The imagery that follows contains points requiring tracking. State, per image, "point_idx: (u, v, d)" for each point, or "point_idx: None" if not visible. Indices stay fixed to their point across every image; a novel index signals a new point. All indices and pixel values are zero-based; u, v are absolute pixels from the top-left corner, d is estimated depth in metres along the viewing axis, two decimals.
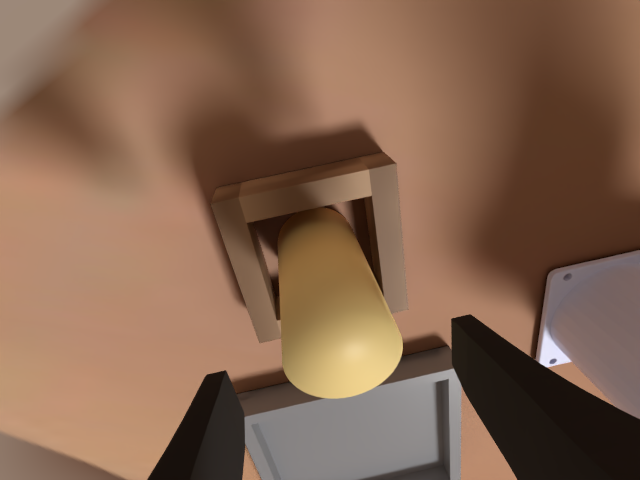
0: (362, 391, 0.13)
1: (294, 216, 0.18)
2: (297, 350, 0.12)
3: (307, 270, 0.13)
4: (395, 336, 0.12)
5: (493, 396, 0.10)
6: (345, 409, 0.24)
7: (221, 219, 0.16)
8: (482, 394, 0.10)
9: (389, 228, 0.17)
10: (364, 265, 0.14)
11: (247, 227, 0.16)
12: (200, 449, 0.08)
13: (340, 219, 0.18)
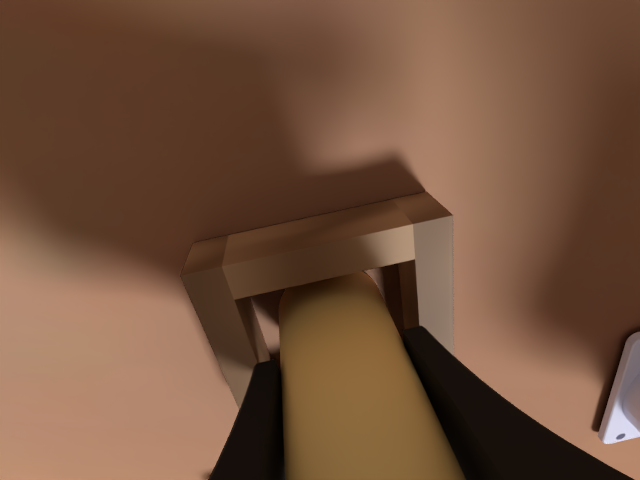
0: None
1: None
2: None
3: (327, 397, 0.08)
4: None
5: (436, 409, 0.10)
6: None
7: (197, 296, 0.11)
8: None
9: (436, 300, 0.12)
10: (412, 377, 0.09)
11: (235, 305, 0.11)
12: (266, 434, 0.08)
13: (366, 284, 0.13)
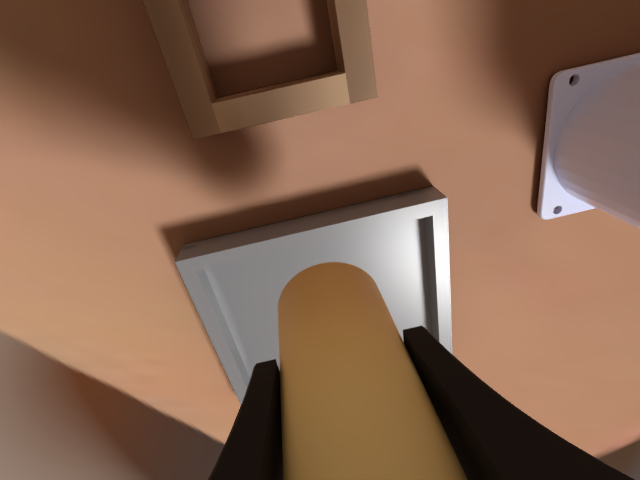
0: None
1: (301, 275, 0.13)
2: None
3: (326, 392, 0.08)
4: None
5: (436, 409, 0.10)
6: None
7: None
8: None
9: None
10: (411, 373, 0.09)
11: None
12: (265, 434, 0.08)
13: (365, 281, 0.13)
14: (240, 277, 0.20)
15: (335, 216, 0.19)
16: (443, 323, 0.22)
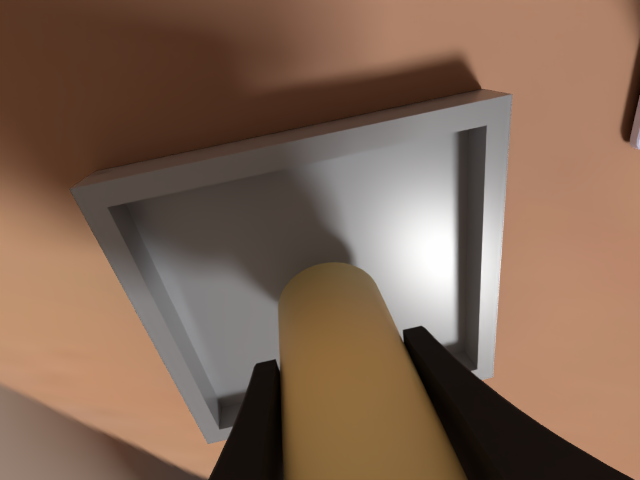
0: None
1: (301, 276, 0.13)
2: None
3: (326, 392, 0.08)
4: None
5: (436, 409, 0.09)
6: (298, 216, 0.14)
7: None
8: None
9: None
10: (411, 372, 0.09)
11: None
12: (266, 434, 0.08)
13: (365, 281, 0.13)
14: (186, 226, 0.13)
15: (332, 126, 0.12)
16: (486, 303, 0.15)
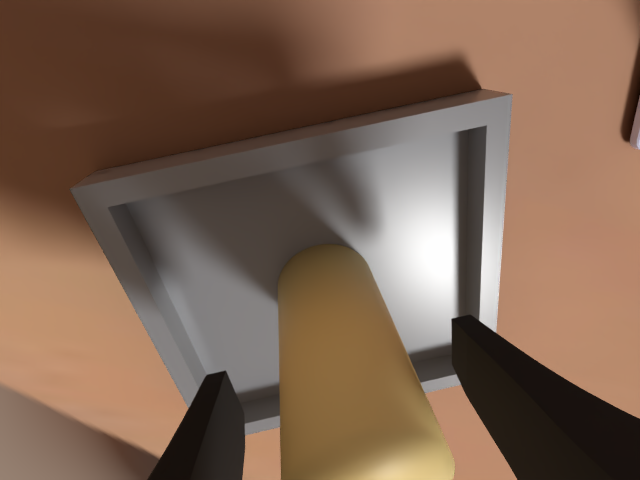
0: None
1: (299, 256, 0.14)
2: None
3: (317, 349, 0.10)
4: (445, 460, 0.08)
5: (493, 396, 0.10)
6: (298, 216, 0.14)
7: None
8: (482, 394, 0.10)
9: None
10: (393, 336, 0.11)
11: None
12: (200, 449, 0.08)
13: (357, 261, 0.14)
14: (186, 226, 0.13)
15: (332, 126, 0.12)
16: (487, 303, 0.15)
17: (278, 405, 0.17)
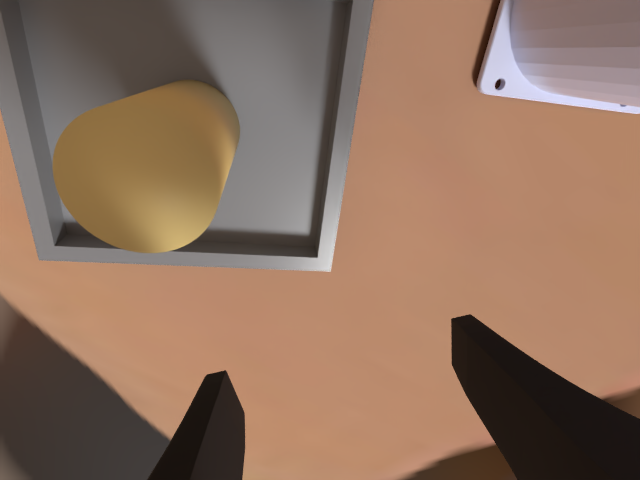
0: (160, 249, 0.10)
1: None
2: (76, 154, 0.09)
3: (139, 93, 0.11)
4: (210, 178, 0.10)
5: (493, 396, 0.10)
6: (180, 42, 0.15)
7: None
8: (482, 394, 0.10)
9: None
10: (218, 123, 0.12)
11: None
12: (200, 449, 0.08)
13: (224, 100, 0.15)
14: (68, 9, 0.14)
15: None
16: (333, 186, 0.17)
17: None
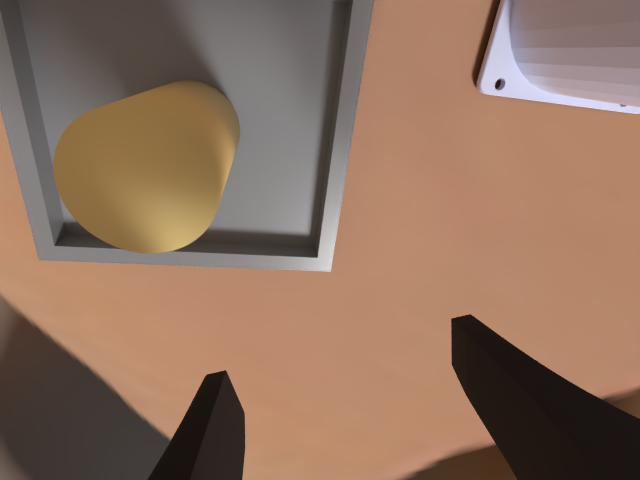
0: (161, 250, 0.10)
1: None
2: (76, 154, 0.09)
3: (140, 94, 0.11)
4: (211, 178, 0.10)
5: (493, 396, 0.10)
6: (180, 41, 0.15)
7: None
8: (482, 394, 0.10)
9: None
10: (218, 123, 0.12)
11: None
12: (200, 449, 0.08)
13: (224, 100, 0.15)
14: (68, 9, 0.14)
15: None
16: (333, 186, 0.17)
17: None
